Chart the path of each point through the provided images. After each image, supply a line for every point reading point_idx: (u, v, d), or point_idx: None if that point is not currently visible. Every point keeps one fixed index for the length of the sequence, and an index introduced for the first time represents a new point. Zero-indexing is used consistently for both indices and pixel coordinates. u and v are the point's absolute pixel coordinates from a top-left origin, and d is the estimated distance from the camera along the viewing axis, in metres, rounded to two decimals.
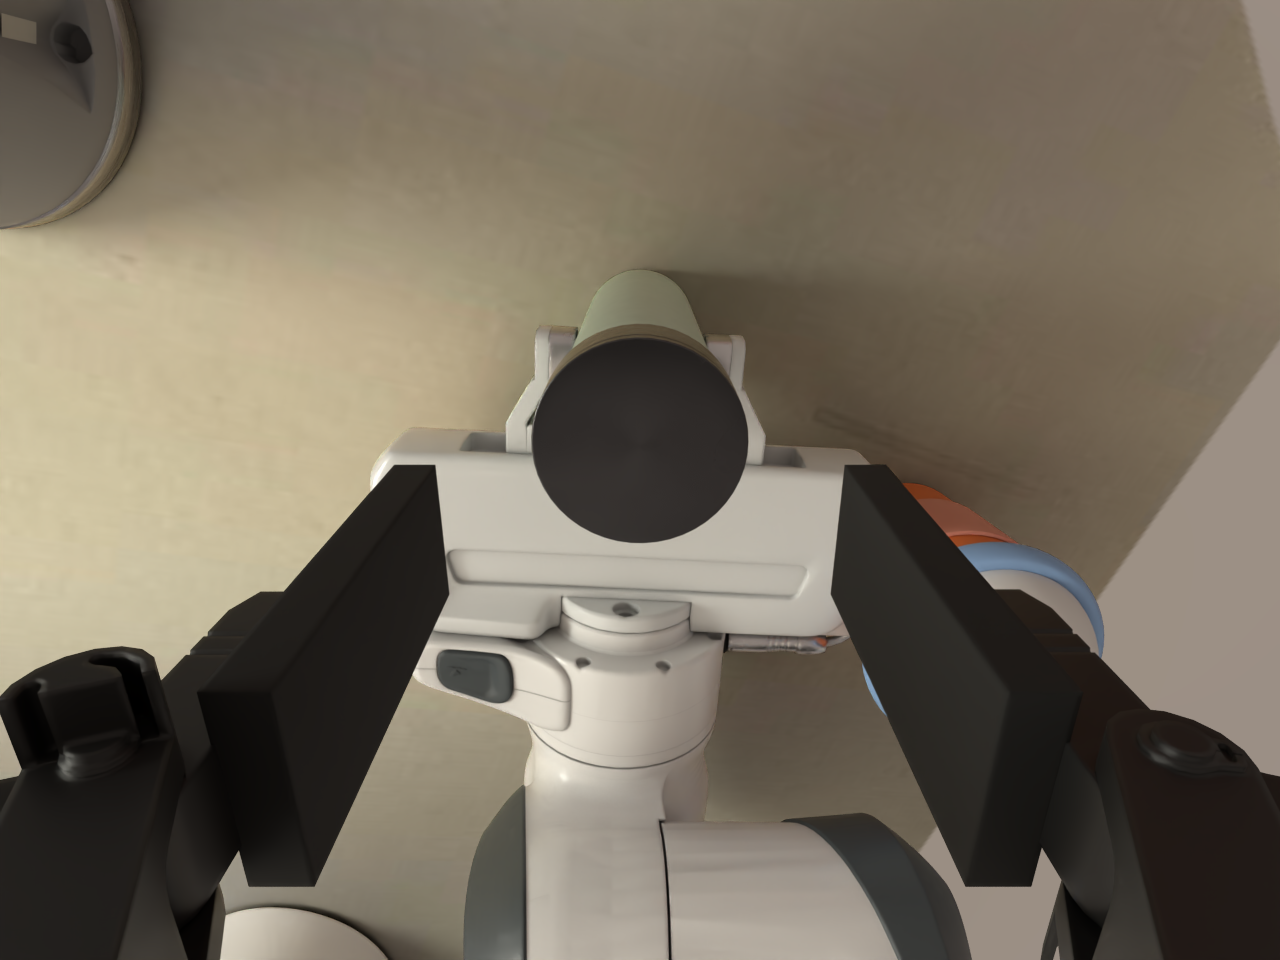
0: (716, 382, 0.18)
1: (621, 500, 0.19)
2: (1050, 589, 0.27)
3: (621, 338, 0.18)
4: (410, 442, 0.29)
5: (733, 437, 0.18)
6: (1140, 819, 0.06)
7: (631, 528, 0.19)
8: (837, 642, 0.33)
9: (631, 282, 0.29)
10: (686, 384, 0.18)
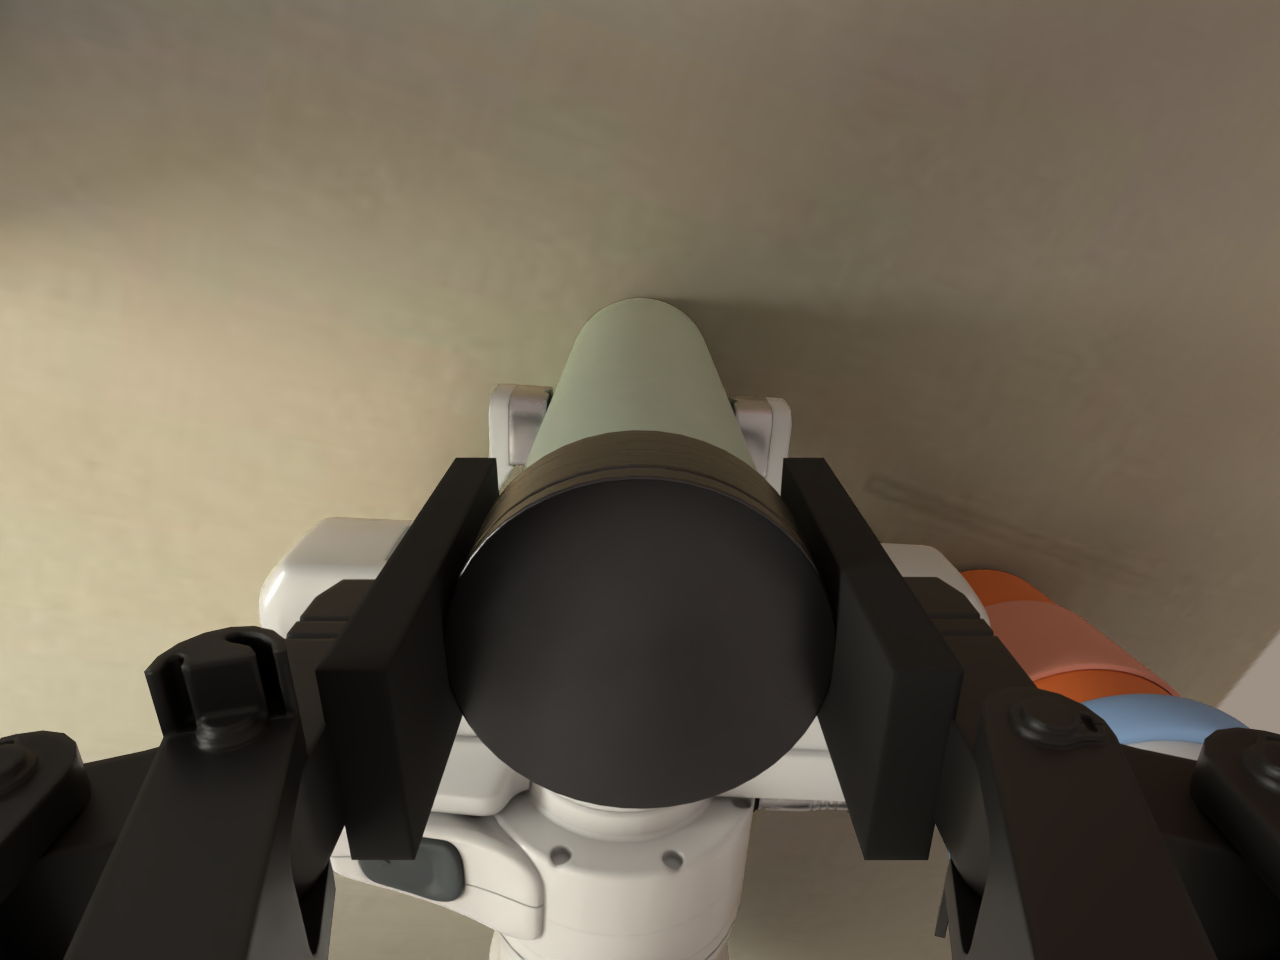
0: (782, 554, 0.10)
1: (607, 744, 0.11)
2: None
3: (604, 476, 0.09)
4: (318, 545, 0.21)
5: (809, 645, 0.10)
6: (1010, 795, 0.06)
7: (624, 786, 0.11)
8: None
9: (628, 321, 0.21)
10: (726, 557, 0.10)
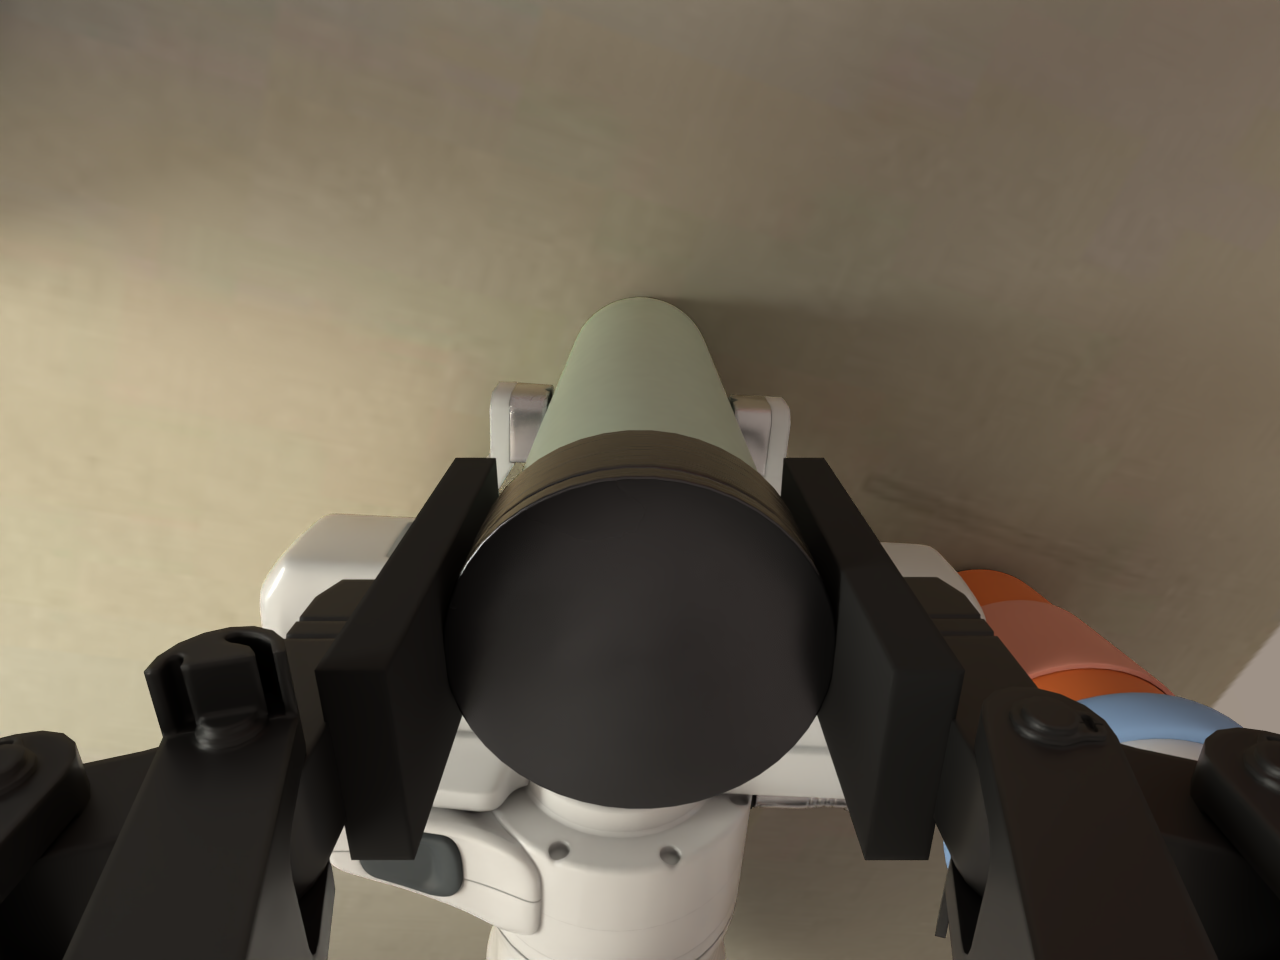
0: (479, 577, 0.10)
1: (751, 661, 0.10)
2: None
3: (471, 724, 0.11)
4: (319, 541, 0.21)
5: (569, 517, 0.09)
6: (1011, 795, 0.06)
7: (804, 633, 0.10)
8: None
9: (628, 320, 0.21)
10: (502, 621, 0.10)
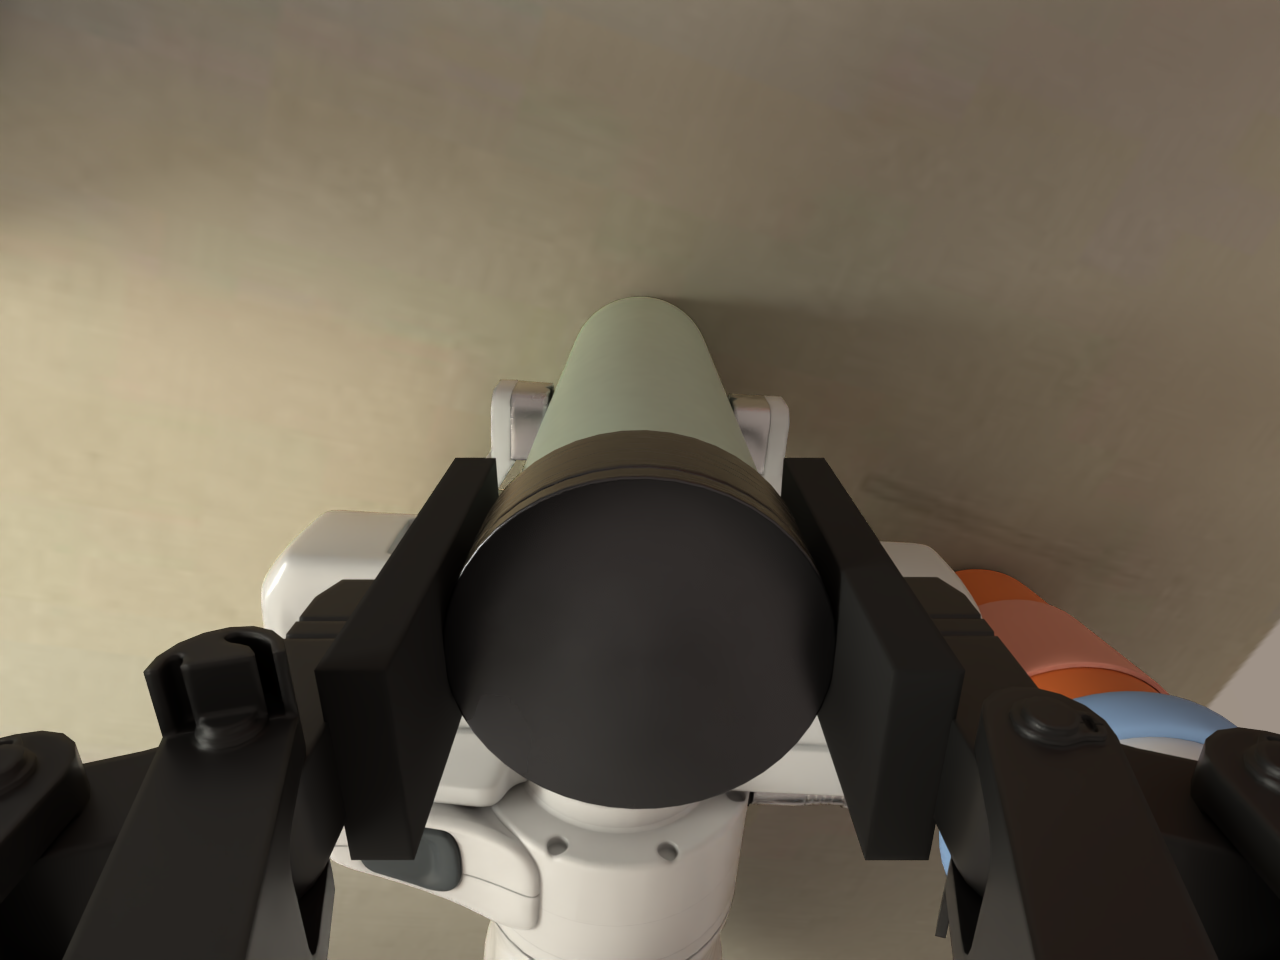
0: (596, 794, 0.11)
1: (608, 564, 0.10)
2: None
3: (762, 769, 0.11)
4: (320, 537, 0.21)
5: (514, 745, 0.11)
6: (1011, 795, 0.06)
7: (556, 527, 0.09)
8: None
9: (629, 319, 0.21)
10: (634, 770, 0.11)
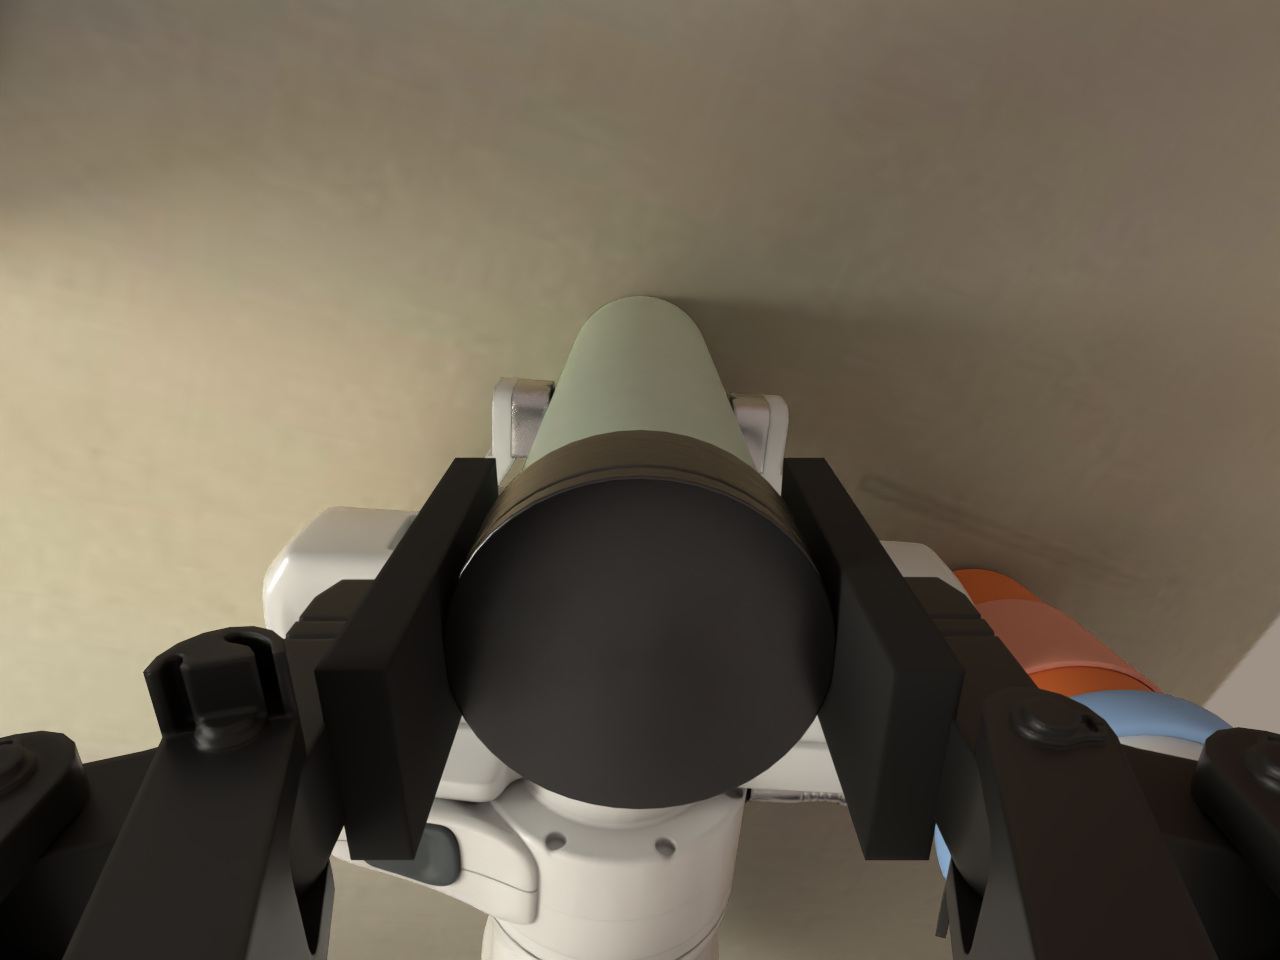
0: (819, 657, 0.10)
1: (547, 708, 0.11)
2: None
3: (749, 502, 0.09)
4: (321, 533, 0.21)
5: (773, 736, 0.11)
6: (1011, 794, 0.06)
7: (527, 751, 0.11)
8: None
9: (629, 318, 0.21)
10: (778, 630, 0.10)
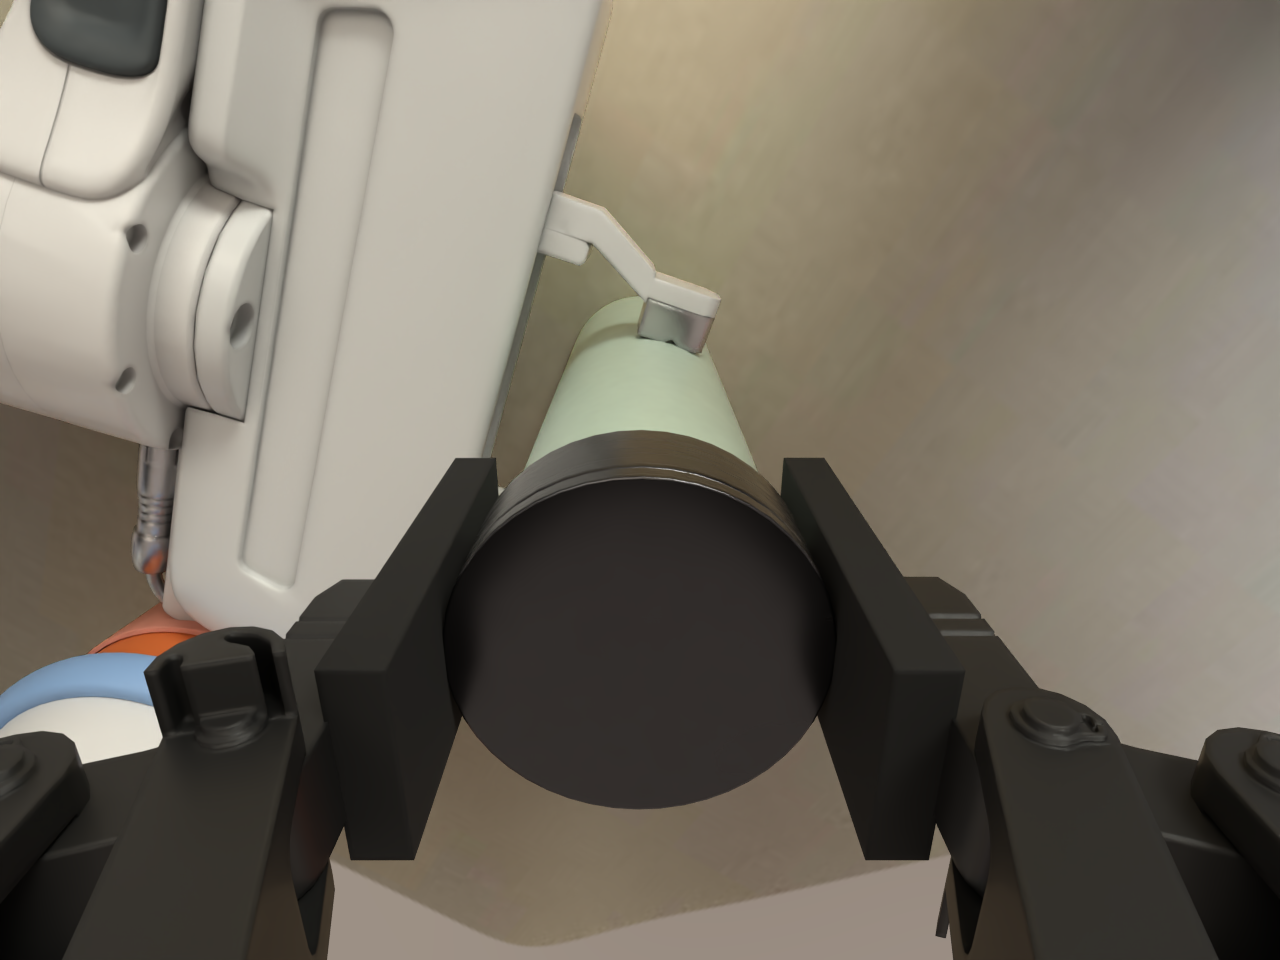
0: (819, 657, 0.10)
1: (547, 708, 0.11)
2: None
3: (749, 502, 0.09)
4: (603, 17, 0.17)
5: (773, 736, 0.11)
6: (1011, 795, 0.06)
7: (527, 751, 0.11)
8: (150, 585, 0.22)
9: None
10: (778, 630, 0.10)
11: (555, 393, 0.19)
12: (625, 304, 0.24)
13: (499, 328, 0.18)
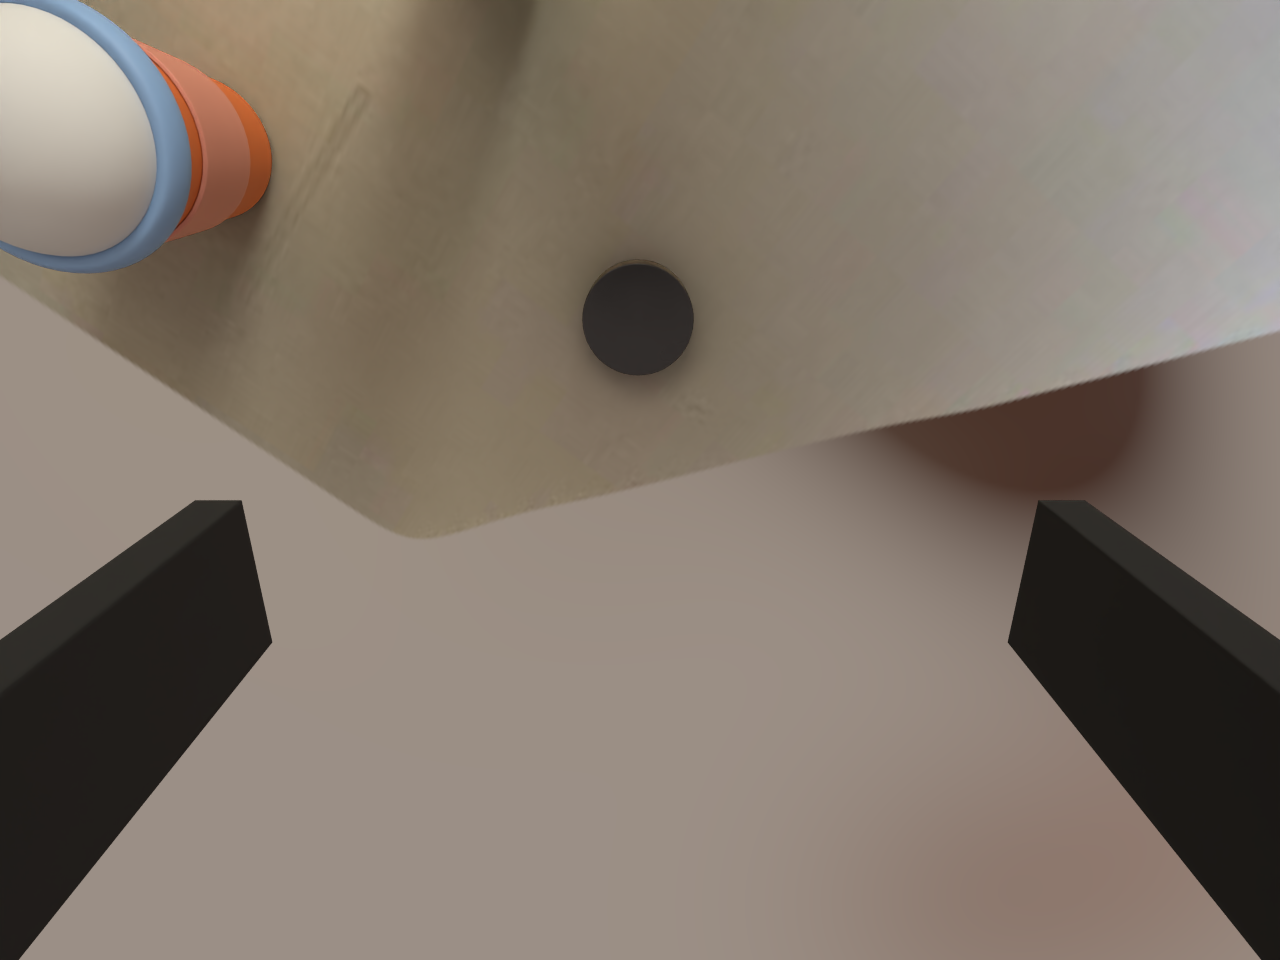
0: (688, 319, 0.36)
1: (611, 337, 0.37)
2: (128, 211, 0.25)
3: (666, 271, 0.36)
4: None
5: (677, 347, 0.37)
6: None
7: (605, 353, 0.37)
8: None
9: None
10: (676, 310, 0.36)
11: None
12: None
13: None
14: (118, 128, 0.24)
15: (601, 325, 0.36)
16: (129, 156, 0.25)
